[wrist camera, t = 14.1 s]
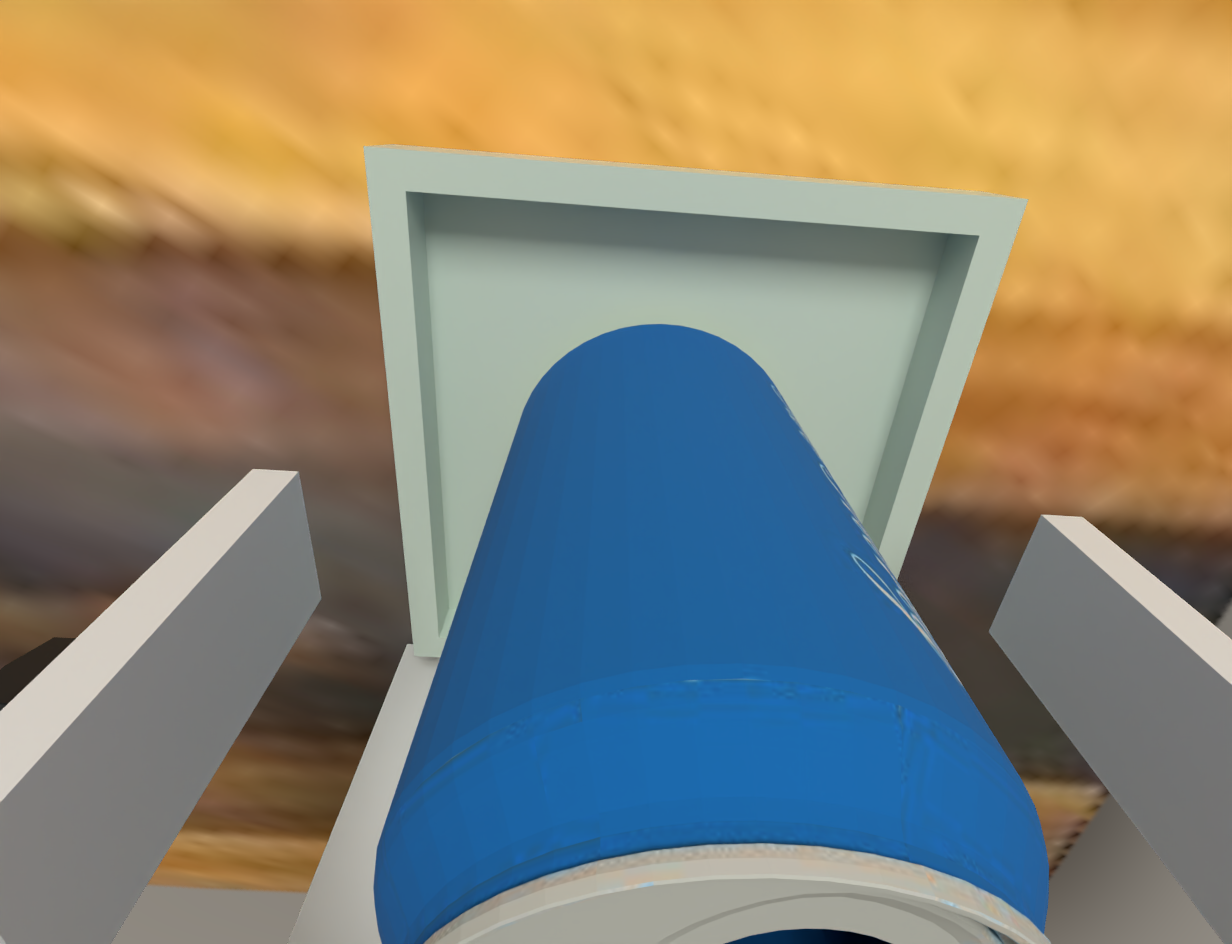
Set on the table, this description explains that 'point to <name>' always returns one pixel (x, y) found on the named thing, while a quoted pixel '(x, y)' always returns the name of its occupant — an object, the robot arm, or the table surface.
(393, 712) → the block
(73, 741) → the robot arm
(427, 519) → the tray
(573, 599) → the beverage can
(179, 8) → the table surface
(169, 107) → the table surface
